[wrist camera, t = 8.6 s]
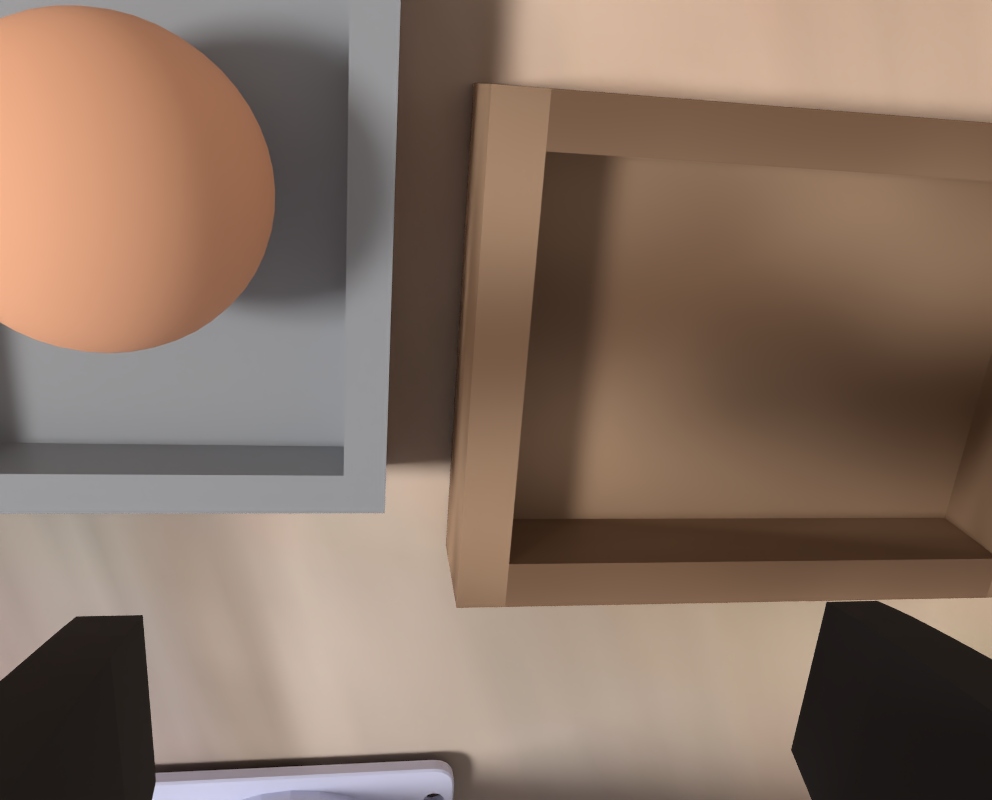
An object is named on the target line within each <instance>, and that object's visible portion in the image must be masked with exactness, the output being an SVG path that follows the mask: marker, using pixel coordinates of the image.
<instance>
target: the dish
mask: <svg viewBox="0 0 992 800" xmlns="http://www.w3.org/2000/svg"><path fill="white" fill-rule="evenodd" d="M446 548H447V554H448V560H449V566H450V572H451V578H452V583H453V589H454V595H455V601H456V607H457V608H468V607H520V606H572V605H624V604H676V603H728V602H780V601H832V600H884V599H936V598H988V597H992V123H983V122H970V121H958V120H945V119H932V118H920V117H907V116H894V115H881V114H869V113H856V112H843V111H831V110H818V109H805V108H792V107H780V106H767V105H754V104H742V103H729V102H716V101H704V100H691V99H678V98H665V97H653V96H640V95H627V94H615V93H602V92H589V91H576V90H564V89H551V88H538V87H526V86H513V85H500V84H482V83H474V87H473V103H472V120H471V137H470V153H469V170H468V187H467V203H466V220H465V237H464V253H463V270H462V287H461V304H460V320H459V337H458V354H457V370H456V387H455V404H454V420H453V437H452V454H451V470H450V487H449V504H448V520H447V537H446Z"/></svg>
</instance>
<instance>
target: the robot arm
mask: <svg viewBox="0 0 992 800" xmlns="http://www.w3.org/2000/svg"><path fill="white" fill-rule="evenodd" d="M791 751H792V753H793V755H794V758H795V760H796V763H797V765H798V768H799V770H800V772H801V775H802V777H803V780H804V782H805V784H806V787H807V789H808V792H809V794H810V797H811V799H812V800H992V659H990V658H988V657H986V656H985V655H983V654H981V653H979V652H977V651H976V650H974V649H972V648H970V647H968V646H966V645H965V644H963V643H961V642H959V641H957V640H955V639H954V638H952V637H950V636H948V635H946V634H944V633H942V632H940V631H939V630H937V629H935V628H933V627H931V626H929V625H927V624H925V623H923V622H921V621H919V620H917V619H915V618H913V617H911V616H909V615H907V614H905V613H903V612H901V611H899V610H897V609H894V608H892V607H890V606H888V605H885V604H883V603H881V602H878V601H854V602H827V603H826V607H825V611H824V615H823V620H822V624H821V628H820V632H819V636H818V640H817V645H816V649H815V653H814V657H813V661H812V665H811V670H810V674H809V678H808V682H807V686H806V690H805V695H804V699H803V703H802V707H801V711H800V715H799V720H798V724H797V728H796V732H795V736H794V740H793V745H792V749H791ZM453 792H454V779H453V772H452V768H451V767H450V766H449V764H448V763H446V762H444V761H441V760H419V761H398V762H377V763H356V764H335V765H314V766H292V767H271V768H250V769H229V770H208V771H187V772H166V773H155V762H154V749H153V737H152V725H151V713H150V700H149V688H148V676H147V663H146V651H145V639H144V626H143V615H133V616H82V617H75V618H74V619H73V620H72V621H70V622H69V623H68V624H67V625H65V626H64V627H63V628H62V629H61V630H59V631H58V632H57V633H56V634H55V635H53V636H52V637H51V638H50V639H49V640H48V641H46V642H45V643H44V644H43V645H42V646H41V647H39V648H38V649H37V650H36V651H35V652H34V653H32V654H31V655H30V656H29V657H28V658H27V659H26V660H24V661H23V662H22V663H21V664H20V665H19V666H17V667H16V668H15V669H14V670H13V671H12V672H10V673H9V674H8V675H7V676H6V677H5V678H3V679H2V680H1V681H0V800H453ZM433 793H436V794H439V795H438V796H436V797H426V796H427V795H429V794H433Z"/></svg>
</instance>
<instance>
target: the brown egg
mask: <svg viewBox="0 0 992 800" xmlns="http://www.w3.org/2000/svg"><path fill="white" fill-rule="evenodd" d="M274 212H275V184H274V175H273V167H272V163H271V159H270V155H269V151H268V147H267V144H266V142H265V139H264V136H263V134H262V131H261V128H260V126H259V124H258V122H257V120H256V118H255V116H254V114H253V113H252V111H251V109H250V107H249V105H248V104H247V102H246V101H245V99H244V98H243V97H242V95H241V94H240V92H239V91H238V89H237V88H236V87H235V85H234V84H233V83H232V82H231V81H230V80H229V79H228V77H227V76H226V75H225V74H224V73H223V72H222V70H221V69H219V68H218V67H217V66H216V65H215V64H214V63H213V62H212V61H211V60H210V59H208V58H207V57H206V56H205V55H204V54H203V53H202V52H200V51H199V50H197V49H196V48H195V47H193V46H192V45H190V44H189V43H188V42H186V41H185V40H183V39H182V38H181V37H179V36H177V35H175V34H174V33H172V32H170V31H168V30H166V29H164V28H163V27H161V26H159V25H157V24H155V23H152V22H149V21H147V20H144V19H142V18H139V17H137V16H134V15H131V14H127V13H123V12H119V11H115V10H111V9H105V8H97V7H89V6H81V5H53V6H46V7H40V8H33V9H28V10H25V11H21V12H18V13H15V14H12V15H8V16H5V17H2V18H0V323H2V324H4V325H6V326H7V327H9V328H11V329H13V330H14V331H16V332H19V333H21V334H23V335H26V336H28V337H30V338H33V339H35V340H37V341H41V342H44V343H47V344H51V345H54V346H57V347H62V348H68V349H73V350H79V351H84V352H97V353H122V352H133V351H138V350H144V349H149V348H154V347H158V346H161V345H164V344H167V343H170V342H173V341H176V340H179V339H181V338H183V337H185V336H187V335H189V334H192V333H194V332H196V331H197V330H199V329H200V328H202V327H203V326H205V325H207V324H208V323H210V322H211V321H213V320H214V319H215V318H216V317H217V316H219V315H220V314H221V313H222V312H223V311H224V310H226V309H227V308H228V307H229V306H230V305H231V304H232V303H233V302H234V301H235V300H236V299H237V298H238V297H239V295H240V294H241V293H242V292H243V291H244V290H245V288H246V287H247V285H248V284H249V282H250V281H251V279H252V278H253V276H254V275H255V273H256V271H257V269H258V267H259V265H260V263H261V260H262V258H263V256H264V254H265V251H266V247H267V244H268V241H269V238H270V234H271V231H272V225H273V218H274Z"/></svg>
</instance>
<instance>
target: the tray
mask: <svg viewBox="0 0 992 800" xmlns="http://www.w3.org/2000/svg"><path fill="white" fill-rule="evenodd" d="M53 5H81V6H89V7H97V8H105V9H111V10H115V11H119V12H123V13H127V14H131V15H134V16H137V17H139V18H142V19H144V20H147V21H149V22H152V23H155V24H157V25H159V26H161V27H163V28H164V29H166V30H168V31H170V32H172V33H174V34H175V35H177V36H179V37H181V38H182V39H183V40H185V41H186V42H188V43H189V44H190V45H192V46H193V47H195V48H196V49H197V50H199V51H200V52H202V53H203V54H204V55H205V56H206V57H207V58H208V59H210V60H211V61H212V62H213V63H214V64H215V65H216V66H217V67H218V68H219V69H221V70H222V72H223V73H224V74H225V75H226V76H227V77H228V79H229V80H230V81H231V82H232V83H233V84H234V85H235V87H236V88H237V89H238V91H239V92H240V94H241V95H242V97H243V98H244V99H245V101H246V102H247V104H248V105H249V107H250V109H251V111H252V113H253V114H254V116H255V118H256V120H257V122H258V124H259V126H260V128H261V131H262V134H263V136H264V139H265V142H266V144H267V147H268V151H269V155H270V159H271V163H272V167H273V175H274V184H275V212H274V218H273V225H272V231H271V234H270V238H269V241H268V244H267V247H266V251H265V254H264V256H263V258H262V260H261V263H260V265H259V267H258V269H257V271H256V273H255V275H254V276H253V278H252V279H251V281H250V282H249V284H248V285H247V287H246V288H245V290H244V291H243V292H242V293H241V294H240V295H239V297H238V298H237V299H236V300H235V301H234V302H233V303H232V304H231V305H230V306H229V307H228V308H227V309H226V310H224V311H223V312H222V313H221V314H220V315H219V316H217V317H216V318H215V319H214V320H213V321H211V322H210V323H208V324H207V325H205V326H203V327H202V328H200V329H199V330H197V331H196V332H194V333H192V334H189V335H187V336H185V337H183V338H181V339H179V340H176V341H173V342H170V343H167V344H164V345H161V346H158V347H154V348H149V349H144V350H138V351H133V352H122V353H97V352H84V351H79V350H73V349H68V348H62V347H57V346H54V345H51V344H47V343H44V342H41V341H37V340H35V339H33V338H30V337H28V336H26V335H23V334H21V333H19V332H16V331H14V330H13V329H11V328H9V327H7V326H6V325H4V324H2V323H0V514H109V513H385V487H386V455H387V423H388V391H389V359H390V327H391V296H392V264H393V232H394V200H395V168H396V137H397V105H398V73H399V41H400V9H401V0H0V18H2V17H5V16H8V15H12V14H15V13H18V12H21V11H25V10H28V9H33V8H40V7H46V6H53Z"/></svg>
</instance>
